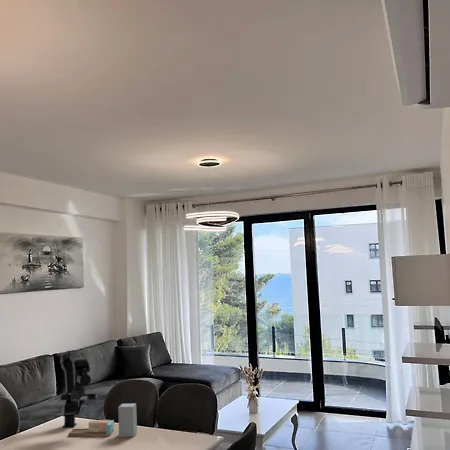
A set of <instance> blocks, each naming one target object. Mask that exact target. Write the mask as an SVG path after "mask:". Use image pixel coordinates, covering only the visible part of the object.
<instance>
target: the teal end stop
mask: <svg viewBox="0 0 450 450" xmlns="http://www.w3.org/2000/svg"><path fill="white" fill-rule="evenodd" d="M114 421H115V420H114V419H112V420H111V419H109V422H108V424H107V429H106V434H110V433H111V432H112V430H113V429H114V428H115V426H114V424H115V422H114ZM114 430H115V429H114ZM112 433H113V432H112Z"/></svg>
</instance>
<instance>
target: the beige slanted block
mask: <svg viewBox="0 0 450 450" xmlns="http://www.w3.org/2000/svg"><path fill="white" fill-rule="evenodd" d="M100 420H101V419H99V420H96V419H95V420H94V419H93V420H92V419H91V420H90V421H89V422H88V428H89V430H88V432H98V422H99V421H100Z"/></svg>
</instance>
